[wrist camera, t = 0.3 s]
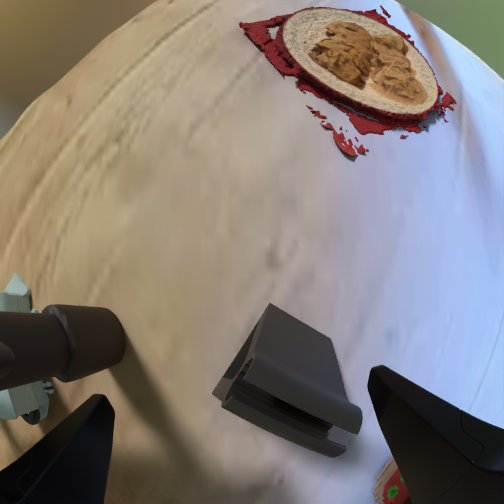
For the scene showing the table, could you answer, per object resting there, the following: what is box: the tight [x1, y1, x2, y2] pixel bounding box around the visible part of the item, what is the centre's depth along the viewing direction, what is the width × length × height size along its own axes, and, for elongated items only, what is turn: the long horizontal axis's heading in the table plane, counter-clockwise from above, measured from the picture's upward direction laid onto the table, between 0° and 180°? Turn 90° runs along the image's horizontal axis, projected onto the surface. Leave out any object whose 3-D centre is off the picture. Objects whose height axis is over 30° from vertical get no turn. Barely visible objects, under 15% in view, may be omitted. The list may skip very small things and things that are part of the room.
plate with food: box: [239, 6, 456, 156], centre depth 29 cm, size 25×26×4 cm
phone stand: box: [212, 303, 362, 457], centre depth 16 cm, size 9×6×12 cm, turn 148°
